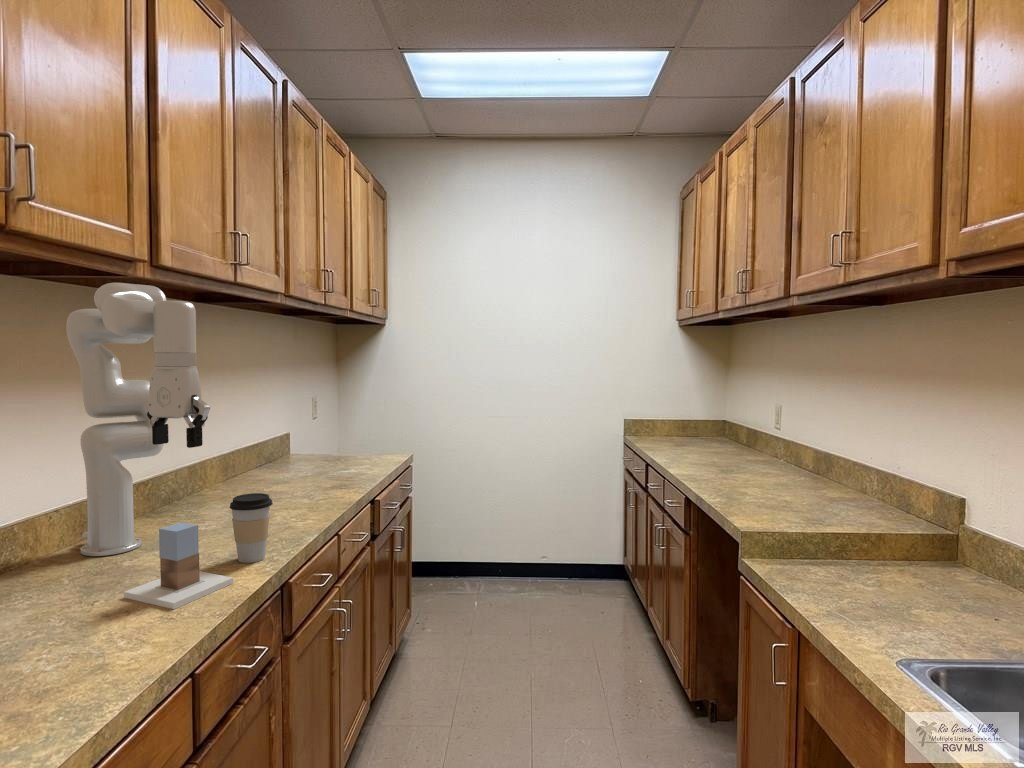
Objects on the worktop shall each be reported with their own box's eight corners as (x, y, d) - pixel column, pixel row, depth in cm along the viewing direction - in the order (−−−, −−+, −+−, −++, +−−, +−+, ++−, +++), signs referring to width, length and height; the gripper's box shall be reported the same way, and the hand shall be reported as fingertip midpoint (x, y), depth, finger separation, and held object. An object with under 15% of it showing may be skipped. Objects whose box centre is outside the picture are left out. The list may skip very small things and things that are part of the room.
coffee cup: (232, 554, 143) (231, 494, 142) (273, 550, 146) (273, 491, 146) (228, 567, 134) (227, 503, 133) (272, 563, 137) (271, 500, 137)
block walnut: (160, 586, 120) (160, 557, 120) (182, 577, 124) (182, 550, 124) (178, 590, 118) (177, 560, 118) (199, 581, 123) (199, 553, 122)
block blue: (159, 557, 119) (158, 528, 119) (181, 550, 124) (180, 522, 124) (177, 560, 118) (176, 531, 117) (198, 553, 122) (198, 524, 122)
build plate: (124, 597, 117) (123, 591, 117) (186, 573, 130) (185, 567, 130) (173, 609, 112) (173, 602, 112) (233, 583, 125) (233, 577, 125)
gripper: (128, 361, 119) (130, 445, 119) (190, 362, 112) (191, 450, 113) (162, 361, 126) (164, 440, 126) (222, 362, 119) (224, 445, 120)
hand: (177, 445), depth 120 cm, fingers open, 9 cm apart
